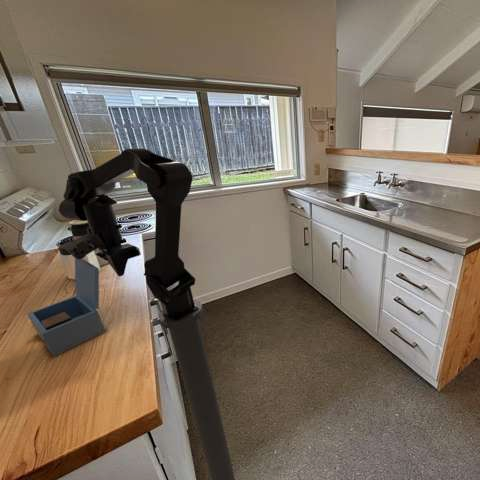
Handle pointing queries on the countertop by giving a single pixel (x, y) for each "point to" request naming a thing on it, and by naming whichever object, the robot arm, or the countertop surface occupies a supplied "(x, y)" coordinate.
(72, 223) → the travel mug
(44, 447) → the countertop surface
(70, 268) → the jar
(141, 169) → the robot arm
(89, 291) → the lid
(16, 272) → the countertop surface
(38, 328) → the chest
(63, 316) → the block
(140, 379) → the countertop surface
